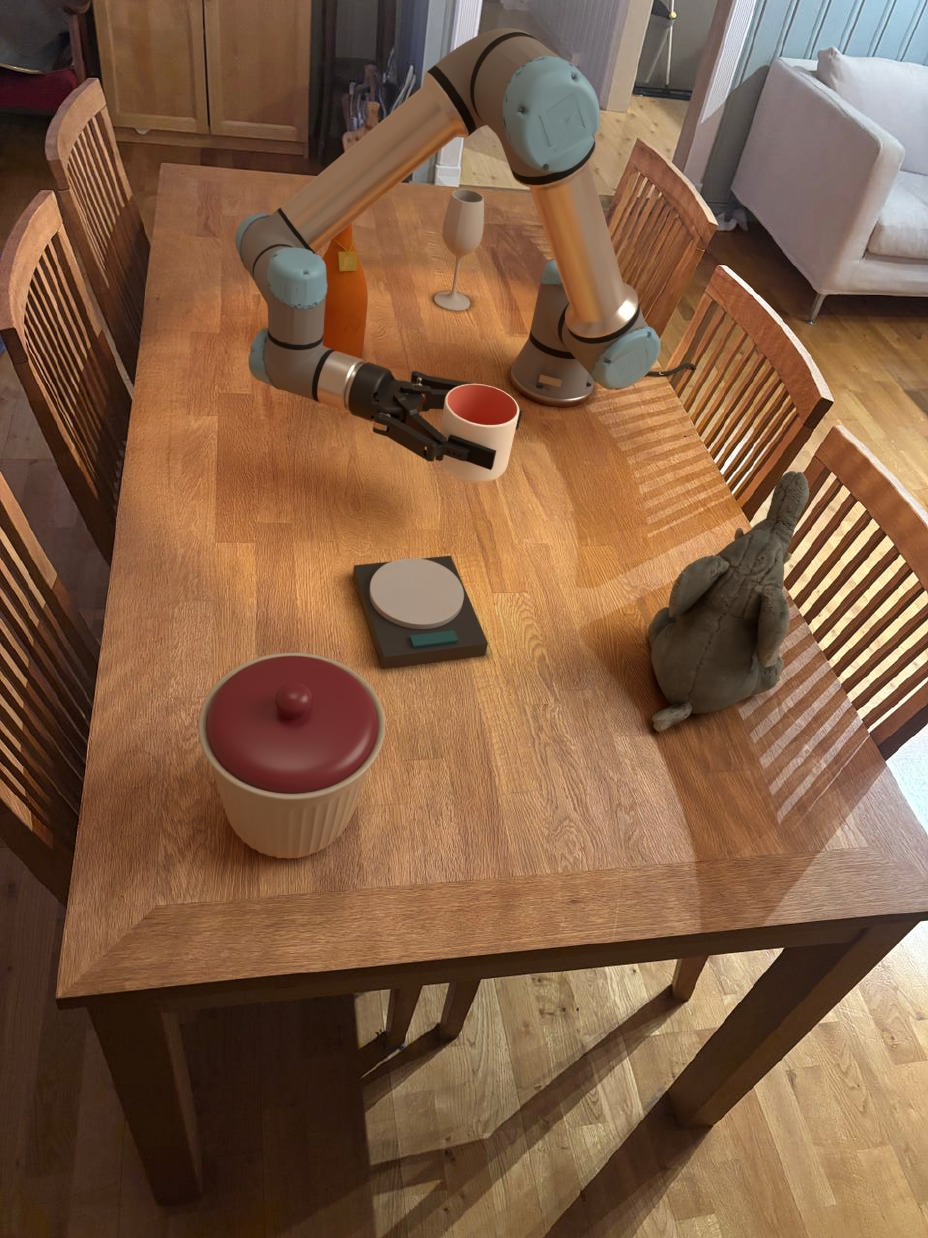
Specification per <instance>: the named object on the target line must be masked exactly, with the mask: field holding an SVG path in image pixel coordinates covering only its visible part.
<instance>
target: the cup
mask: <svg viewBox="0 0 928 1238" xmlns="http://www.w3.org/2000/svg"><path fill="white" fill-rule="evenodd" d="M519 410H520V407H519V405H518V402H517V401H516V400H515V398H514V397H512V396H511V395H510V394H508V393H507V392H506V391H504V390H502V389H500V388H497V387H495V386H491V385H488V384H483V383H482V384H481V383H473V384H466V385H461V386H458V387H455V388H453V389H452V390H450V391H449V392H448V394H447V395H446V397H445V403H444V409H442V415H441V422H440V429H439V432H440V433H441V434H442V435H443V436H445V437H446V441H448V437H449V436H450V434H451V435H454V436H456V437H459V438H462V439H465V440H468V441H471V442H473V443H476V444H479V445H482V446H485V447H488V448H490V449H493V450H496V455H495V460H494V464H493V468H492V469H491V470H489V469H486V468H483V467H481V466H478V465H475V464H472V463H469V462H467V461H460V460H458V459H455V458H452V457H449V456H446V455H444V457H443V460H442V461H438V460H437V462H438V464H439V466H440V468H442V470H443V471H444V472H445V473H446V474H447V475H449V476H450V477H452V478H454V479H457V480H459V481H461V482H464V483H471V484H483V483H484V484H485V483H489V482H492V481H495V480H496V479H498V478H500V477H501V476H502V475H503V474H504V473H505V472H506V470H507V468H508V465H509V460H510V455H511V452H512V448H513V447H512V446H513V443H514V438H515V433H516V430H515V429H516V425H517V420H518V416H519Z"/></svg>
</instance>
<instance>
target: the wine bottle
mask: <svg viewBox="0 0 928 1238" xmlns="http://www.w3.org/2000/svg"><path fill="white" fill-rule="evenodd" d="M357 253H358V252H357V250H356V247H355V244H354V236H353V222H352V223H351V224H350V225H349V226H347V227H346V228H345V229H344V230H343V231H341V232H340V233H339V234H338V235H337V236H335V237H334V238H333V239H332V240H330V241H329V243H328V247H327V248H326V251H325V253H324V254H323V256H322V257H321V258H322V259H323V261H324V263H325V265H326V282H327V293H326V301H325V316H324V331H323V333H324V334H323V346H325V347H327V348H330V349H333V350H335V351H338V352H341V353H345V354H348V355H351V356H354V357H357V358H360V357H361V355H362V353H363V349H364V344H365V336H366V335H365V333H366V325H367V318H368V317H367V314H368V303H369V302H368V301H369V300H368V299H369V297H368V296H369V295H368V294H369V293H368V286H367V280H366V276H365V273H364V270H363V266H362V264H361V261H360V259H359V255H358V254H357Z"/></svg>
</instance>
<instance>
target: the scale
mask: <svg viewBox="0 0 928 1238" xmlns="http://www.w3.org/2000/svg"><path fill="white" fill-rule="evenodd" d="M352 580H353V584H354V586H355V589H356V592H357V595H358V599H359V601H360V605H361V608H362V611H363V615H364V617H365V620H366V624H367V627H368V631H369V633H370V636H371V639H372V642H373V645H374V648H375V652H376V655H377V658H378V661H379V664H380V667H381V669H382V670H388V669H393V668H401V667H402V668H403V667H408V666H409V667H411V666H415V665H424V664H431V663H437V662H439V663H440V662H445V661H453V660H459V659H460V660H461V659H468V658H476V657H482V656H486V654H487V650H488V646H489V645H488V644H489V642H488V640H487V636H486V635H485V633H484V630H483V628H482V625H481V623H480V621H479V618H478V616H477V614H476V611H475V609H474V607H473V604H472V602H471V600H470V597H469V594H468V593H467V590H466V588H465V585H464V583H463V581H462V578H461V576H460V574H459V572H458V569H457V567H456V564H455V562H454V559H453V557H452V555H443V556H432V557H423V558H422V557H421V558H417V557H406V558H398V559H395V560H392V561H384V562H374V563H373V562H372V563H363V564H354V565H353V570H352Z"/></svg>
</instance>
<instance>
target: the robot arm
mask: <svg viewBox="0 0 928 1238" xmlns="http://www.w3.org/2000/svg"><path fill="white" fill-rule="evenodd" d="M600 111H601V110H600V103H599V99H598V97H597V94H596V91H595V89H594V87H593V86H592V84H591V83H590V82H589V80H588V79H587V77H586V76H585V75H584V74H583V73H582V72H581V70H579V68H577V67H576V66H575V65H574V64H573V63H571V62H570V61H568V60H567V59H564V58H562V57H560V56H559V55H558V54H557V53H555V52H554V51H552V49H549V48H548V47H547V46H545V45H544V44H543V43H541V42H540V41H539V40H538V39H537V38H535V37H534V36H533V35H532V34H530V33H529V32H526V31H525V30H522V29H518V28H515V27H514V28H513V27H500V28H495V29H491V30H487V31H484V32H482V33H480V34H478V35H476V36H474V37H472V38H471V39H468V40H467V41H465V42H464V43H462V44H460V45H459V46H457V47H456V48H454V49H453V50H452V51H450V52H449V53H448V54H446V55H444V57H443V58H441V59H440V60H439V61H438V62H436V63H435V64H434V65H433V66H432V67H431V68H429V69H428V70H427V71H426V72H424V74H423V80H422V86H421V87H420V88H419V89H417V90H416V91H415V92H414V93H413V94H411V96H409V97H408V98H407V99H405V100H404V101H403V102H402V103H401V104H400V105H398V107H396V108H395V109H394V110H393V111H391V113H389V114H388V115H387V116H386V117H385V118H384V119H382V120H381V121H380V122H379V123H378V124H376V125H375V126H374V127H373V128H371V129H370V131H368V132H367V133H365V134H364V136H362V137H361V138H360V139H359V140H358V141H356V142H355V143H354V144H353V145H352V146H351V147H349V148H348V149H347V150H346V151H344V152H343V153H342V154H341V155H340V156H339V157H337V159H335V160H334V161H333V162H331V163H330V164H329V165H328V166H327V167H326V168H325V169H323V170H322V171H321V172H320V173H319V174H318V175H317V176H315V177H314V178H313V179H312V180H311V181H309V182H308V183H307V184H306V185H305V186H303V187H302V188H301V189H300V190H299V191H298V192H297V193H295V194H294V195H293V196H292V197H291V198H289V199H288V200H287V201H286V202H284V204H282V205H281V206H280V207H279V208H278V209H276V210H275V211H274V212H272V214H271V213H267V212H266V213H265V212H259V213H254V214H249V215H248V216H246V217H245V218H244V219H243V220H242V221H241V222H239V225H238V226H237V229H236V232H235V237H234V243H235V247H236V250H237V252H238V254H239V258H240V261H241V262H242V265H243V267H244V268H245V270H246V271H247V272H248V274H249V275H250V277H251V279H252V280H253V282H254V284H255V286H256V287H257V289H258V291H259V293H260V294H261V296H262V298H263V300H264V301H265V303H266V306H267V327H265V328H262V329H261V330H259V331H258V332H257V334H256V335H255V336H254V338H253V340H252V342H251V345H250V352H249V354H248V369H249V371H250V374H251V376H252V377H253V378H254V379H255V380H258V381H260V382H261V383H264V384H267V385H269V386H270V387H273V389H276V390H279V391H284V392H287V393H290V394H294V395H296V396H299V397H300V396H301V397H303V398H306V399H309V400H312V401H314V402H315V403H320V404H323V405H325V406H328V407H330V408H334V409H336V410H339V411H341V412H345V413H349V412H350V414H351V415H352V416H355V417H357V418H360V419H363V420H365V421H369V422H373V425H372V432H373V433H375V434H377V435H380V436H384V437H387V438H388V439H390V440H391V441H394V442H395V443H396V444H398V445H400V446H401V447H403V448H405V449H407V450H409V451H410V452H412V453H413V454H415V455H417V456H419V457H420V458H422V459H424V460H425V461H427V462H429V463H430V462H434V461H435V460H436V461H437V462H438V461H442V460H443V457H444V455H446V456H449V457H452V458H455V459H458V460H460V461H467V462H469V463H472V464H475V465H478V466H481V467H483V468H486V469H489V470H491V469H492V468H493V464H494V460H495V455H496V450H493V449H490V448H488V447H485V446H482V445H479V444H476V443H473V442H471V441H468V440H465V439H462V438H459V437H456V436H454V435H451V434H450V436H449V437H448V441H446V437H445V436H443V435H442V434H441V433H440V430H438V429H437V428H435V426H433V424H431V423H430V422H429V421H428V420H426V419H425V418H424V417H423V416H422V415H421V414H420V413H423V412H424V413H427V412H430V410H443V409H444V403H445V397H446V395H447V394H448V392H449V391H450V390H452V389H453V388H455V387H458V386H461V385H466V384H474V383H473V382H467V381H462V380H455V379H450V378H445V377H438V376H433V375H428V374H425V373H423V372H420V371H418V370H413V371H411V373H410V378H408V380H400V379H396V378H395V377H394V374H393V372H392V371H391V369H389V368H387V367H384V366H381V365H379V364H377V363H373V362H371V361H367V362H365V361H364V359H362V358H360V357H358V358H357V357H354V356H351V355H348V354H345V353H341V352H338V351H335V350H333V349H330V348H327V347H325V346H323V334H324V333H323V331H324V316H325V301H326V293H327V282H326V265H325V263H324V261H323V259H322V258H323V257H321V256H320V255H319V254H317V252H319V251H320V250H321V249H322V248H323V247H325V246H326V245H327V244H329V243H330V242H331V240H332V239H333V238H334V237H335V236H337V235H338V234H339V233H340V232H341V231H343V230H344V229H345V228H346V227H347V226H349V225H350V224H351V223H352V224H353V223H354V222H355V221H356V220H357V219H358V218H360V217H361V216H362V215H363V214H364V213H365V212H367V211H368V210H370V208H372V207H373V206H374V205H375V204H376V203H378V202H379V201H380V200H381V199H382V198H384V197H385V196H386V195H387V194H389V193H390V192H391V191H392V190H393V189H395V188H396V187H397V186H398V185H400V184H401V183H402V182H403V181H404V180H405V179H407V178H408V177H409V176H410V175H412V174H413V173H414V172H415V171H416V170H418V169H419V168H420V167H421V166H422V165H424V164H425V163H426V162H427V161H429V160H430V159H431V158H432V157H434V155H436V154H437V153H438V152H439V151H441V150H442V149H443V148H444V147H446V146H447V145H448V144H449V143H451V141H453V140H454V139H455V138H462V139H463V138H464V139H468V138H469V137H470V136H471V135H472V134H473V133H475V132H476V131H477V130H479V129H480V128H482V127H486V126H487V127H488V128H489V129H490V130H491V131H492V132H494V133H495V135H496V136H497V138H498V140H499V142H500V144H501V147H502V150H503V153H504V155H505V157H506V160H507V163H508V166H509V169H510V171H511V175H512V176H513V179H514V180H515V181H516V182H517V183H519V184H520V185H522V186H525V187H528V188H529V191H530V195H531V196H532V200H533V203H534V205H535V209H536V211H537V214H538V217H539V219H540V222H541V225H542V228H543V230H544V234H545V237H546V240H547V243H548V246H549V249H550V252H551V254H552V257H553V258H552V259H550V260H549V261H548V262H546V264H545V265H544V267H543V271H542V274H541V277H540V279H539V288H538V292H537V296H536V302H535V305H534V310H533V315H532V320H531V325H530V330H529V334H528V338H527V339H526V341H525V343H524V344H523V346H522V348H521V350H520V351H519V353H518V355H517V357H516V358H515V360H514V361H513V364H512V365H511V370H510V376H509V379H510V382H511V384H512V386H513V387H514V389H515V390H517V391H518V392H519V393H520V394H521V395H522V396H524V397H525V398H527V399H529V400H531V401H534V402H536V403H538V404H542V405H545V406H551V407H558V408H559V407H560V408H570V407H575V406H580V405H582V404H584V403H586V402H587V401H588V400H590V399H591V396H592V395H593V391H594V388H595V382H596V383H598V384H599V385H600V386H601V387H602V388H603V389H606V390H608V391H609V390H610V391H613V390H615V391H620V390H623V389H627V388H629V387H631V386H633V385H635V384H636V383H638V382H639V381H641V379H643V378H644V377H645V376H656V377H657V376H662V375H660V374H659V372H661V374H664V375H663V376H670V375H671V376H672V375H674V374H676V373H678V372H680V371H682V370H684V369H686V368H690V369H692V370H693V371H696V370H697V367H696V365H695V364H694V363H691V362H686V363H684V364H681V365H679V366H677V367H675V368H673V369H670V370H665V371H652V368H653V366H654V365H655V364H656V362H657V361H658V358H659V357H660V356H659V355H660V353H661V347H662V346H661V345H662V344H661V339H660V337H659V336H658V334H657V332H656V330H655V329H654V328H653V327H652V326H649V325H648V323H647V322H646V320H645V318H644V314H643V311H642V307H641V303H640V299H639V296H638V294H637V291H636V289H634V287H633V286H631V285H630V284H628V283H626V282H624V281H623V278H622V274H621V270H620V267H619V262H618V259H617V255H616V252H615V248H614V245H613V242H612V241H613V240H612V239H611V235H610V231H609V227H608V224H607V220H606V217H605V213H604V209H603V207H602V203H601V202H602V201H601V198H600V196H599V193H598V189H597V185H596V182H595V178H594V175H593V171H592V167H591V163H590V161H591V160H592V158H593V156H594V155H595V153H596V148H597V147H596V146H597V145H596V144H597V141H596V138H595V134H596V133H597V132H598V131H599V127H600V121H601V112H600ZM522 414H523V411H522V410H521V409H519V416H518V420H517V425H516V429H515V431H518V429H519V428H520V423H521V419H522Z"/></svg>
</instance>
